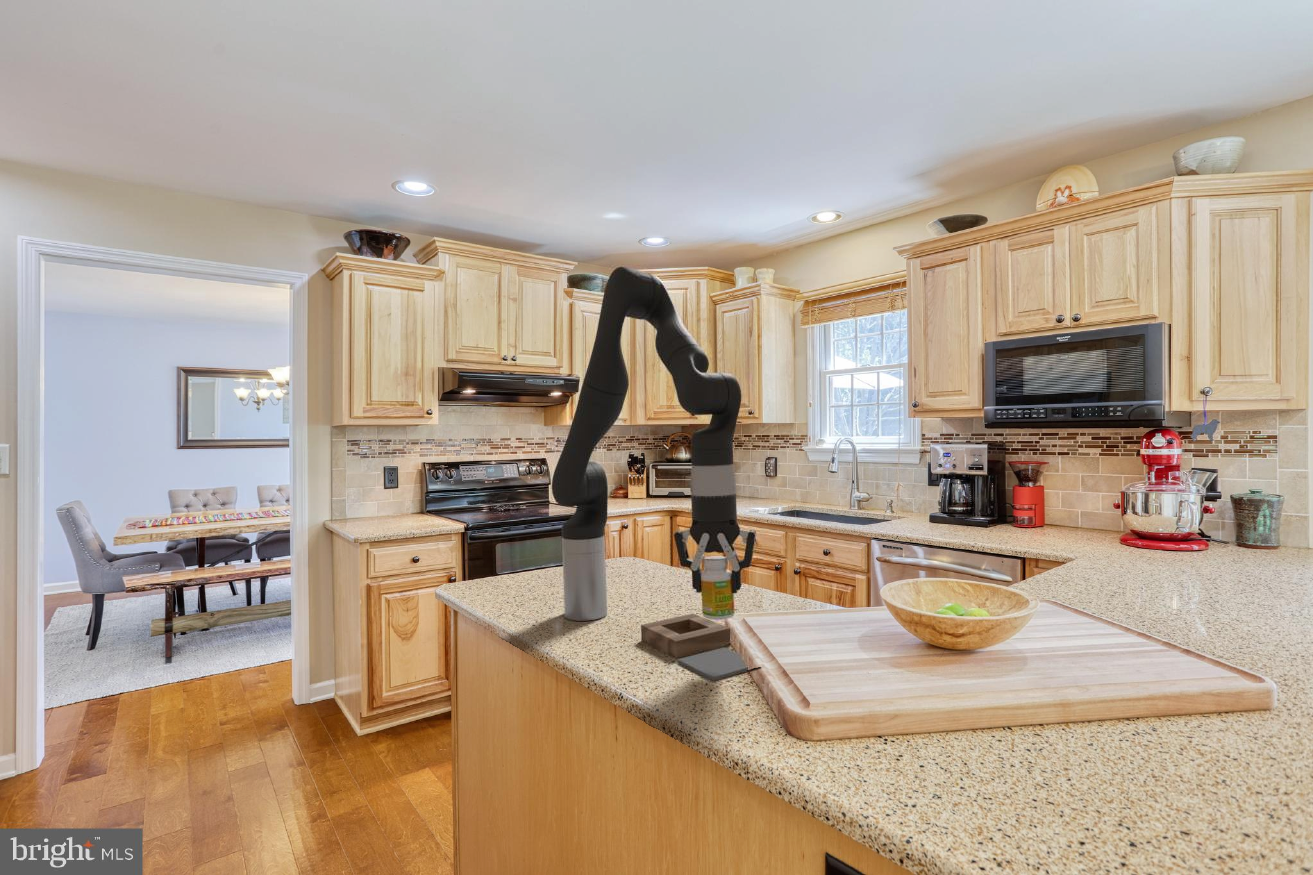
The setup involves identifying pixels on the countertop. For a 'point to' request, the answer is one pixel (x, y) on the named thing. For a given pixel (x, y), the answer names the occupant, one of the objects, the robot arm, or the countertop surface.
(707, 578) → the supplement bottle
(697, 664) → the mat
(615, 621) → the countertop surface
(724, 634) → the frame
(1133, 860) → the countertop surface
